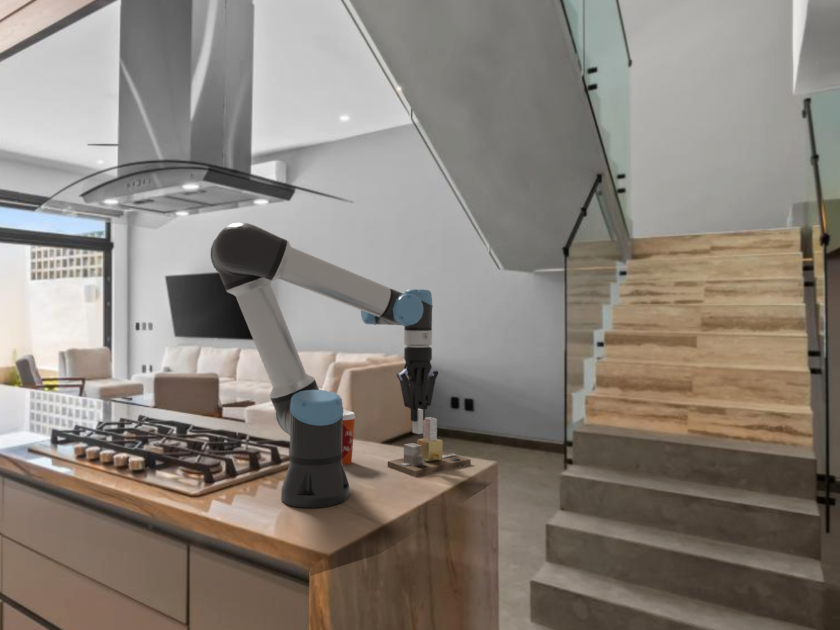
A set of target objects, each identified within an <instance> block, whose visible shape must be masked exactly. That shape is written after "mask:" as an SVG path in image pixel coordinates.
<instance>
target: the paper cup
mask: <svg viewBox="0 0 840 630" xmlns="http://www.w3.org/2000/svg"><path fill="white" fill-rule="evenodd" d="M356 418H357V417H356V414H355V412H353V411H349V410H343V424H342V464H343V466H348V465H351V464H352V460H353V449H354V448H353V445H354V433H355V419H356Z"/></svg>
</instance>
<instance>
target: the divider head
mask: <svg viewBox="0 0 840 630" xmlns="http://www.w3.org/2000/svg"><path fill="white" fill-rule="evenodd" d="M437 435H438V418H435V417H433V416H432V417H431V416H429V417H428V416H426V417H425V419H424V420H423V434H422V438H418V439H417V440H416V444H418V445H421V446H422V457H423V460H426V461H432V460H437V459H438V462H440V459H442V452H443V451H444V450H443V446H444V445H443V443H444V442H443V441H444V440H442V439H438V438H437V437H438V436H437Z"/></svg>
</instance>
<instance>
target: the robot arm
mask: <svg viewBox="0 0 840 630" xmlns="http://www.w3.org/2000/svg"><path fill="white" fill-rule="evenodd" d="M210 260H211V263H212V266H213V268H214V269H215V271H216V272H217V273H218V274H219V277H220V280H221V281H222V283H223V286H224V289H225V291H226V293H228V294H231V295H233V296H234V297H236V301H237V303H238V305H239V308H240V311H241V313H242V316H243V317H244V320H245V322H246V325H247V328H248V330H249V332H250V335H251V337H252V340H253V342H254V345H255V347H256V350H257V351H258V355H259V357H260V359H261V362H262V364H263V366H264V369H265V372H266V374H267V376H268V379H269V381H270V383H271V386H272V389H271V391H270V394H269V398H270V400H271V403H272V406H273V408H274V411H275V417H276V418H275V419H276V421H277V424H278V426H279V427H280V428H281V430H282V431H284V433H286V434H288V435H289V464H288V469H287V471H286V475H285V477H284V480H283V482H282V485H281V491H280V492H281V493H280V499H281V502H282V503H283V504H285V505H288V506H292V507H295V508H296V507H297V508H307V509H308V508H309V509H312V508H313V509H314V508H325V507H331V506H335V505H338V504H341V503H343V502H345V501H346V500H348V499H349V497H350V484H349V481H348V478H347V474H346V472H345V468H344V465H343V464H342V424H343V411H344V406H343V399H342V397H341V396H340V395H339V394H337V392H334V391H328V390H326V389H325V390H322V389H320V388H319V385H318V384H317V381H316V379H315V377H314V376H312V375H310V374H308V373H306V369H305V368H304V365H303V363H302V360H301V357H300V355H299V353H298V350H297V348H296V345H295V343H294V341H293V337H292V335H291V332H290V330H289V327H288V325H287V322H286V320H285V318H284V317H285V316H284V315H283V313H282V309H281V307H280V305H279V302H278V300H277V298H276V294H275V292H274V289H273V287H272V284H271V282H272V281H276V280H282V281H283V282H287V283H289V284H292V285H294V286H297V287H300V288H303V289H305V290H308V291H311V292H312V293H314V294H318V295H320V296H323V297H326V298H329V299H331V300H334V301H336V302H339V303H342V304H344V305H347V306H349V307H352V308H354V309H358V310H360V315H361V320H362V322H363V323H364V324H366V325H374V326H376V325H386V326H387V325H389V326H390V325H391V326H403V327H404V333H403V334H404V336H403V337H404V338H403V339H404V341H403V344H404V345H405V347H404V349H403V350H404V352H403V354H404V355H403V359H404V362H405V364H404V367H403V370H402V371H401V372H397V373H396V376H397V379H398V380H399V382H400V383H399V384H400V389H401V394H402V400H403V405H404V407H405V408H407V409H410V421H411V422H412V430H411V431H412V434H417V435H423V420H424V419H425V418H426V413H425V412H426V410H427V409H428V408H429V406H431V405H432V401H433V395H434V391H435V385H436V379H437V377H438V376H439V375H438V374H439V371H438V370H434V369H433V368H432V363H431V361H432V360H433V348H432V347H431V346H432V344H433V331H432V330H433V325H432V324H433V308H434V307H433V295H432V292H431V290H429V289H424V288H423V289H420V288H419V289H410V288H409V289H405V291H404V293H402V292H400V291H399V290H395V289H393V288H390V287H388V286H386V285H383V284H381V283H379V282H376V281H374V280H371V279H369V278H367V277H365V276H362V275H359V274H357V273H354V272H352V271H350V270H349V269H348V270H347V269H345V268H342V267H340V266H337V265H335V264H333V263H331V262H328V261H325V260H323V259H321V258H319V257H316V256H314V255H312V254H309V253H307V252H304V251H302V250H300V249H297V248H295V247H292V246H291V244H290V241H289V240H287V239H285V238H283V237H281V236H278V235H276V234H274V233H272V232H270V231H267V230H265V229H263V228H262V227H258V226H256V225H254V224H250V223H248V222H235V223H231V224H229V225H227V226H226V227H224V228H223V229H222V230H221V231H220V232H219V233H218V235H217V236H216V238H214V240H213V242H212V244H211V247H210Z"/></svg>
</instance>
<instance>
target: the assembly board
mask: <svg viewBox="0 0 840 630" xmlns="http://www.w3.org/2000/svg"><path fill="white" fill-rule="evenodd" d="M448 455H451V456H448ZM471 462H472V461H471V458H469V459H468V457H465V456H461V455H458V454H455V453H450V452H447V451H444V450H443V452H442V459H440V462H438V459H437V460H432V461H426V460H423V457H422V446H421V445H418V444H417V443H414V442H411V443H406V444H405V443H404V444H403V458H402V457H401V458H398V459H391V460H387V468H389V469H393V470H395V471H398V472H401V473H404V474H406V475H409V476H411V477H414V478H416V477H420V476H425V475H429V474H430V475H431V474H434V473H438V472H443V471H447V470H452V469H451V468H453V469H456V468H455V467H457V468H460V467H459V466H462V467H465V466H464V465H466V466H469V465H468V464H471ZM471 465H472V464H471Z"/></svg>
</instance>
